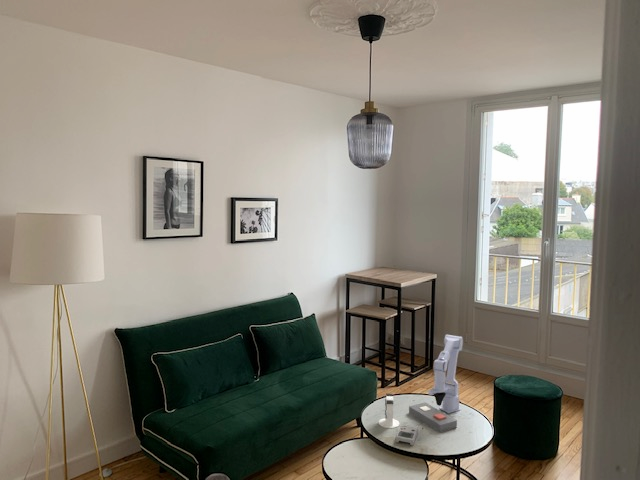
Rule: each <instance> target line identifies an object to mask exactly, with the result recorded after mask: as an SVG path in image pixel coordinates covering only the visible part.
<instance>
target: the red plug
mask: <svg viewBox="0 0 640 480" xmlns="http://www.w3.org/2000/svg"><path fill="white" fill-rule="evenodd" d="M433 417H434V418H436V419H438V420H443V419H446V416H444V415H442V414H441V413H439V414H435V415H433Z"/></svg>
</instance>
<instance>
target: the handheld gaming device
mask: <svg viewBox="0 0 640 480" xmlns="http://www.w3.org/2000/svg"><path fill="white" fill-rule="evenodd" d="M418 428H419V427H417V426H411V425H401V426H400V428H399V429H398V432H397V434H396V436H395V443H400V442H404V443H408V444H409V445H410V446H414V444H415V441H416V438H417V436H418V434H419V433H418V432H419V431H418Z"/></svg>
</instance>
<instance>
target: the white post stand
mask: <svg viewBox="0 0 640 480" xmlns="http://www.w3.org/2000/svg"><path fill="white" fill-rule="evenodd" d="M384 401H385V403H384V406H385V410H384V415H385V417H383V418H381V419H379V420H378V424H379V425H380V426H381V427H382V428H386V429H396V428H398V427H399V426H400V422H399V420H397V419H395V418H394V396H393V393H386V394H385V399H384Z"/></svg>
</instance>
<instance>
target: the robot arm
mask: <svg viewBox="0 0 640 480" xmlns="http://www.w3.org/2000/svg"><path fill="white" fill-rule="evenodd" d="M443 344H444V349H443V350H441V351H440V353H439V355H438V356H437V358H436V359H435V360H434V361H433V364H432V365H433V367H432V369H433V373H434V382H433V383H434V384H433V388H431V389H429V390H428V392H427V394H428V395H429V396H434V399H435V402H436V406H439V407H438V408H439V409H440V410H442V412H444V413H445V412H446V413H447V414H451V413H454V412H455V413H456V412H458V411H461V409H460V396H459V392H460V391H459V390H460V387H459V386H460V385H459V382H458V381H457V380H456V373H457V372H456V371H457V364H458V356H459V352H461V351H462V350H463V344H464V339H463V336H458V335H454V334H453V335H451V334H445V336H444V339H443ZM446 372H447V373H446Z"/></svg>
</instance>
